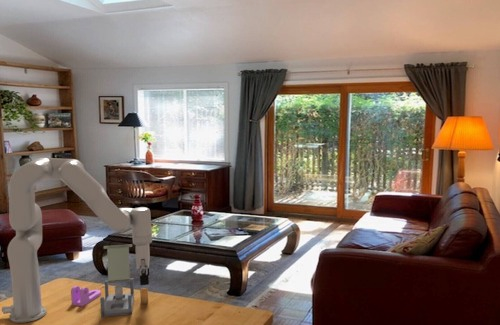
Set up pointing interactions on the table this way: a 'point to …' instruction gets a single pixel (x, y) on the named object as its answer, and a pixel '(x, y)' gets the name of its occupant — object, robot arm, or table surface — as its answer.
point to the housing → (117, 301)
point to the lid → (118, 263)
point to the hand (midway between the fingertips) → (145, 279)
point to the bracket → (83, 295)
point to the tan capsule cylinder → (144, 295)
